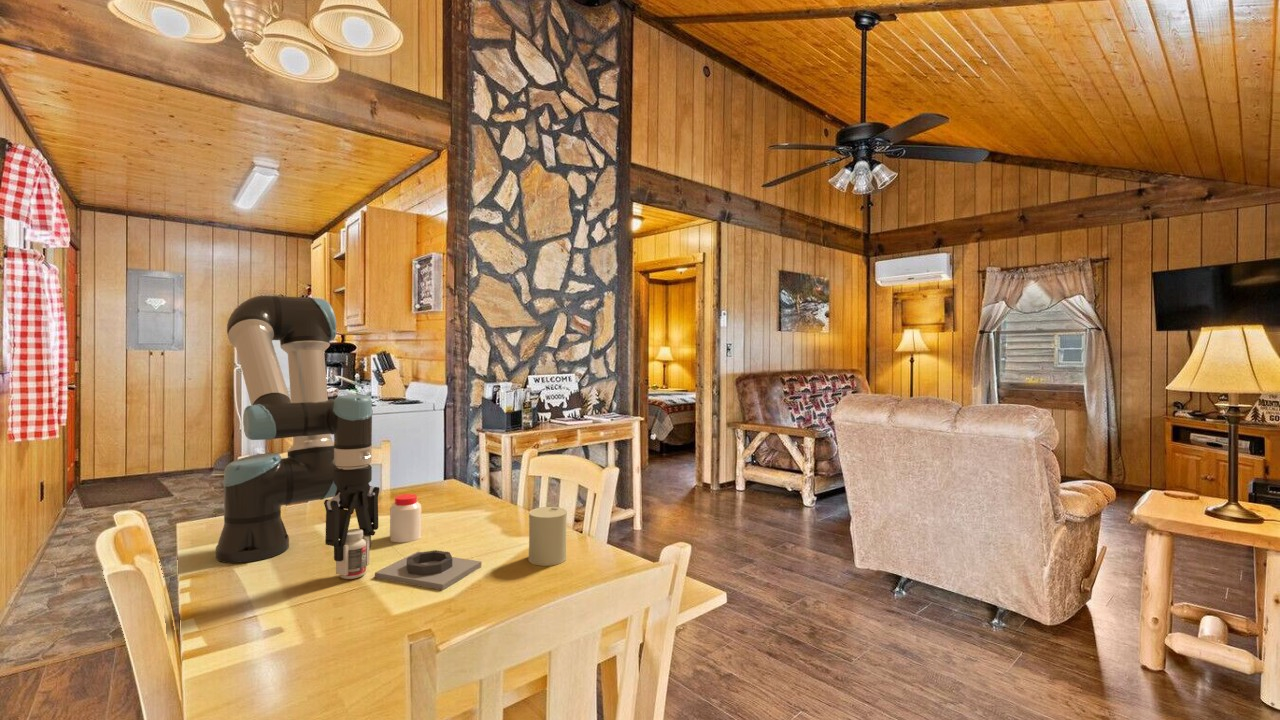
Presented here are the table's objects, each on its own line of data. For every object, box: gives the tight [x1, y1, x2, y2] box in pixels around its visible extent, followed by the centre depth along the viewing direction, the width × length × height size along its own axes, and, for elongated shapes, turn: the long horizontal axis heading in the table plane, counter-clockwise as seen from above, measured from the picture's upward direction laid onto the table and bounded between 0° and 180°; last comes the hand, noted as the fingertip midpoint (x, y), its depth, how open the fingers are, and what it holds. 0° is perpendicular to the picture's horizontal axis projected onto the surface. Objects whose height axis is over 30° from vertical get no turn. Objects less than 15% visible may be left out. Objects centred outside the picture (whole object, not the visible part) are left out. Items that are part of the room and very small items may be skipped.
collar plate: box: [374, 549, 482, 591], centre depth 135 cm, size 18×14×3 cm
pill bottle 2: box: [389, 493, 422, 544], centre depth 158 cm, size 8×8×11 cm
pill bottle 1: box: [339, 528, 367, 580], centre depth 132 cm, size 5×5×10 cm
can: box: [527, 506, 568, 567], centre depth 145 cm, size 9×9×12 cm
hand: (352, 568), depth 133 cm, fingers closed on pill bottle 1, 5 cm apart
